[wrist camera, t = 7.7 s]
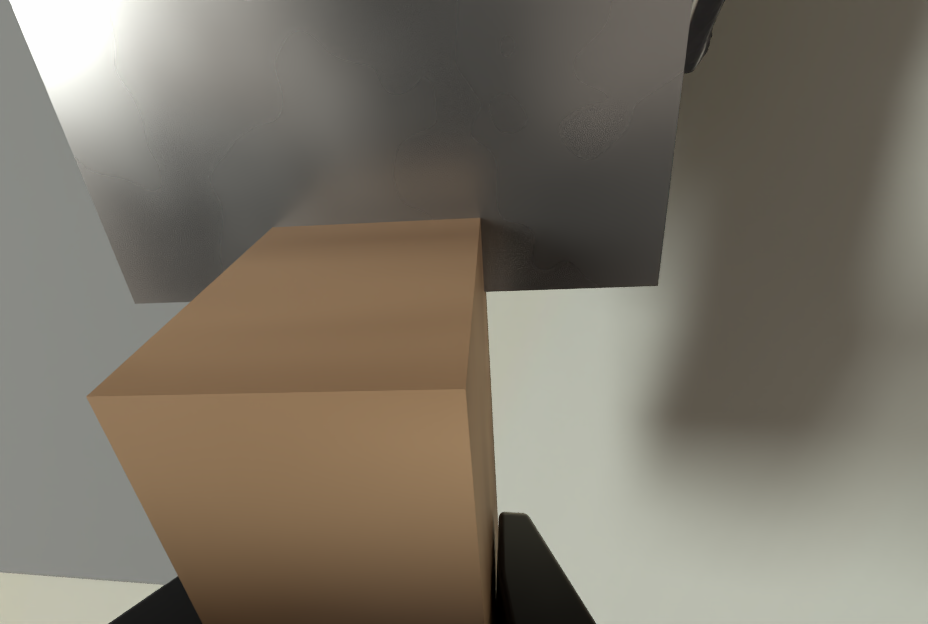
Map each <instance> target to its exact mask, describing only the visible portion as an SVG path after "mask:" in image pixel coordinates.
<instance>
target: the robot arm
mask: <svg viewBox="0 0 928 624" xmlns="http://www.w3.org/2000/svg"><path fill="white" fill-rule="evenodd" d="M109 624H202V622H201V620H200V618H199V616H198V614H197V612H196V610H195V608H194V606H193V604H192V602H191V600H190V598H189V596H188V594H187V592H186V590H185V588H184V587H183V585H182V583H181V581H180V579H179V577H178V576H177V577H175V578H174V579H173V580H171V581H170V582H168V583H167V584H165V585H164V586H162V587H161V588H160V589H158V590H157V591H155V592H154V593H152V594H151V595H149V596H148V597H146V598H145V599H144V600H142V601H141V602H139V603H138V604H136V605H135V606H133V607H132V608H131V609H129V610H128V611H126V612H125V613H123V614H122V615H120V616H119V617H117V618H116V619H115V620H113V621H112V622H110V623H109ZM495 624H596V623H595V621H594V619H593V618H592V616H591V615H590V613H589V611H588V610H587V608H586V607H585V605H584V604H583V602H582V600H581V599H580V597H579V596H578V594H577V592H576V591H575V589H574V588H573V586H572V584H571V583H570V581H569V580H568V578H567V576H566V575H565V573H564V572H563V570H562V568H561V567H560V565H559V564H558V562H557V560H556V559H555V557H554V556H553V554H552V552H551V551H550V549H549V548H548V546H547V544H546V543H545V541H544V540H543V538H542V536H541V535H540V533H539V532H538V530H537V529H536V527H535V525H534V524H533V522H532V521H531V519H530V517H529V516H528V515H527V514H524V513H512V512H502V513H501V514H500V515H499V527H498V550H497V577H496V614H495Z"/></svg>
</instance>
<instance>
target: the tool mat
mask: <svg viewBox="0 0 928 624" xmlns="http://www.w3.org/2000/svg"><path fill="white" fill-rule="evenodd" d="M189 303H190V302H175V303H146V304H135V302H134V300H133V298H132V295H131V293H130V290H129V288H128V286H127V283H126V281H125V278H124V276H123V273H122V271H121V269H120V266H119V264H118V261H117V259H116V257H115V254H114V252H113V249H112V247H111V244H110V242H109V240H108V237H107V235H106V232H105V230H104V228H103V225H102V223H101V220H100V218H99V215H98V213H97V211H96V208H95V206H94V203H93V201H92V199H91V196H90V194H89V191H88V189H87V186H86V184H85V182H84V179H83V177H82V174H81V172H80V169H79V167H78V165H77V162H76V160H75V157H74V155H73V153H72V150H71V148H70V145H69V143H68V140H67V138H66V136H65V133H64V131H63V128H62V126H61V124H60V121H59V119H58V116H57V114H56V111H55V109H54V107H53V104H52V102H51V99H50V97H49V95H48V92H47V90H46V87H45V85H44V82H43V80H42V78H41V75H40V73H39V70H38V68H37V66H36V63H35V61H34V58H33V56H32V53H31V51H30V49H29V46H28V44H27V41H26V39H25V36H24V34H23V32H22V29H21V27H20V24H19V22H18V20H17V17H16V15H15V12H14V10H13V7H12V5H11V3H10V0H0V572H3V573H17V574H30V575H43V576H56V577H69V578H82V579H95V580H108V581H121V582H134V583H147V584H161V585H165V584H167V583H168V582H170V581H171V580H173V579H174V578H175V577H177V576H178V575H177V573H176V571H175V569H174V567H173V565H172V563H171V561H170V559H169V557H168V555H167V553H166V551H165V549H164V548H163V546H162V544H161V542H160V540H159V538H158V536H157V534H156V532H155V530H154V528H153V526H152V524H151V522H150V520H149V518H148V516H147V514H146V512H145V510H144V509H143V507H142V505H141V503H140V501H139V499H138V497H137V495H136V493H135V491H134V489H133V487H132V485H131V483H130V481H129V479H128V477H127V475H126V473H125V471H124V470H123V468H122V466H121V464H120V462H119V460H118V458H117V456H116V454H115V452H114V450H113V448H112V446H111V444H110V442H109V440H108V438H107V436H106V434H105V433H104V431H103V429H102V427H101V425H100V423H99V421H98V419H97V417H96V415H95V413H94V411H93V409H92V407H91V405H90V403H89V401H88V399H87V397H86V396H87V395H88V394H90V393H91V392H92V391H93V390H94V389H95V388H96V387H97V386H98V385H99V384H101V383H102V382H103V381H104V380H105V379H106V378H107V377H108V376H109V375H110V374H112V373H113V372H114V371H115V370H116V369H117V368H118V367H119V366H120V365H121V364H123V363H124V362H125V361H126V360H127V359H128V358H129V357H130V356H131V355H132V354H134V353H135V352H136V351H137V350H138V349H139V348H140V347H141V346H142V345H144V344H145V343H146V342H147V341H148V340H149V339H150V338H151V337H152V336H153V335H155V334H156V333H157V332H158V331H159V330H160V329H161V328H162V327H163V326H164V325H166V324H167V323H168V322H169V321H170V320H171V319H172V318H173V317H174V316H175V315H177V314H178V313H179V312H180V311H181V310H182V309H183V308H184V307H185V306H186V305H188V304H189Z"/></svg>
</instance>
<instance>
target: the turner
mask: <svg viewBox="0 0 928 624" xmlns="http://www.w3.org/2000/svg"><path fill="white" fill-rule="evenodd" d="M692 1H693V0H10V3H11V5H12V7H13V10H14V12H15V15H16V17H17V20H18V22H19V24H20V27H21V29H22V32H23V34H24V36H25V39H26V41H27V44H28V46H29V49H30V51H31V53H32V56H33V58H34V61H35V63H36V66H37V68H38V70H39V73H40V75H41V78H42V80H43V82H44V85H45V87H46V90H47V92H48V95H49V97H50V99H51V102H52V104H53V107H54V109H55V111H56V114H57V116H58V119H59V121H60V124H61V126H62V128H63V131H64V133H65V136H66V138H67V140H68V143H69V145H70V148H71V150H72V153H73V155H74V157H75V160H76V162H77V165H78V167H79V169H80V172H81V174H82V177H83V179H84V182H85V184H86V186H87V189H88V191H89V194H90V196H91V199H92V201H93V203H94V206H95V208H96V211H97V213H98V215H99V218H100V220H101V223H102V225H103V228H104V230H105V232H106V235H107V237H108V240H109V242H110V244H111V247H112V249H113V252H114V254H115V257H116V259H117V261H118V264H119V266H120V269H121V271H122V273H123V276H124V278H125V281H126V283H127V286H128V288H129V290H130V293H131V295H132V298H133V300H134V302H135V304H146V303H175V302H190V303H189V304H188V305H186V306H185V307H184V308H183V309H182V310H181V311H180V312H179V313H178V314H177V315H175V316H174V317H173V318H172V319H171V320H170V321H169V322H168V323H167V324H166V325H164V326H163V327H162V328H161V329H160V330H159V331H158V332H157V333H156V334H155V335H153V336H152V337H151V338H150V339H149V340H148V341H147V342H146V343H145V344H144V345H142V346H141V347H140V348H139V349H138V350H137V351H136V352H135V353H134V354H132V355H131V356H130V357H129V358H128V359H127V360H126V361H125V362H124V363H123V364H121V365H120V366H119V367H118V368H117V369H116V370H115V371H114V372H113V373H112V374H110V375H109V376H108V377H107V378H106V379H105V380H104V381H103V382H102V383H101V384H99V385H98V386H97V387H96V388H95V389H94V390H93V391H92V392H91V393H90V394H88V395H87V396H86V397H87V399H88V401H89V403H90V405H91V407H92V409H93V411H94V413H95V415H96V417H97V419H98V421H99V423H100V425H101V427H102V429H103V431H104V433H105V434H106V436H107V438H108V440H109V442H110V444H111V446H112V448H113V450H114V452H115V454H116V456H117V458H118V460H119V462H120V464H121V466H122V468H123V470H124V471H125V473H126V475H127V477H128V479H129V481H130V483H131V485H132V487H133V489H134V491H135V493H136V495H137V497H138V499H139V501H140V503H141V505H142V507H143V509H144V510H145V512H146V514H147V516H148V518H149V520H150V522H151V524H152V526H153V528H154V530H155V532H156V534H157V536H158V538H159V540H160V542H161V544H162V546H163V548H164V549H165V551H166V553H167V555H168V557H169V559H170V561H171V563H172V565H173V567H174V569H175V571H176V573H177V575H178V577H179V579H180V581H181V583H182V585H183V587H184V588H185V590H186V592H187V594H188V596H189V598H190V600H191V602H192V604H193V606H194V608H195V610H196V612H197V614H198V616H199V618H200V620H201V622H202V624H495V614H496V577H497V550H498V514H497V494H496V475H495V456H494V436H493V417H492V397H491V378H490V358H489V339H488V319H487V300H486V292H491V291H520V290H548V289H577V288H606V287H635V286H658V279H659V270H660V262H661V254H662V246H663V238H664V230H665V221H666V213H667V205H668V197H669V189H670V180H671V172H672V164H673V156H674V148H675V140H676V131H677V123H678V115H679V107H680V99H681V91H682V82H683V74H684V66H685V58H686V50H687V41H688V33H689V25H690V17H691V9H692Z"/></svg>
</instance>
